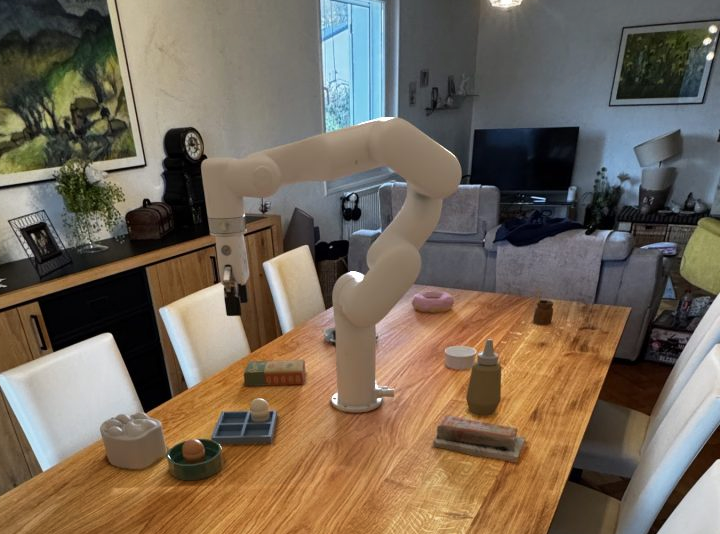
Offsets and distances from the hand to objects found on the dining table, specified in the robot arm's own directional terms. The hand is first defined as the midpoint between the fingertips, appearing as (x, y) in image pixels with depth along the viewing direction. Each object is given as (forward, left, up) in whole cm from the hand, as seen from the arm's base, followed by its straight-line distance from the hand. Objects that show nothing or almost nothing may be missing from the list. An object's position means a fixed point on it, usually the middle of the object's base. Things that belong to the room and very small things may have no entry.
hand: (237, 308), depth 126 cm
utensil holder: (-90, -65, -26) cm, 114 cm away
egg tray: (0, +8, -26) cm, 27 cm away
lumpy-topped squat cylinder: (+23, +18, -26) cm, 39 cm away
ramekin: (-56, -29, -26) cm, 68 cm away
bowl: (+8, +24, -26) cm, 36 cm away
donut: (-56, -85, -26) cm, 105 cm away
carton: (-4, -22, -26) cm, 35 cm away
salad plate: (-25, -54, -26) cm, 65 cm away
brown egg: (+8, +24, -26) cm, 36 cm away
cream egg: (-3, +5, -26) cm, 27 cm away
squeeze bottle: (-56, +1, -26) cm, 62 cm away
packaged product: (-52, +17, -26) cm, 61 cm away
